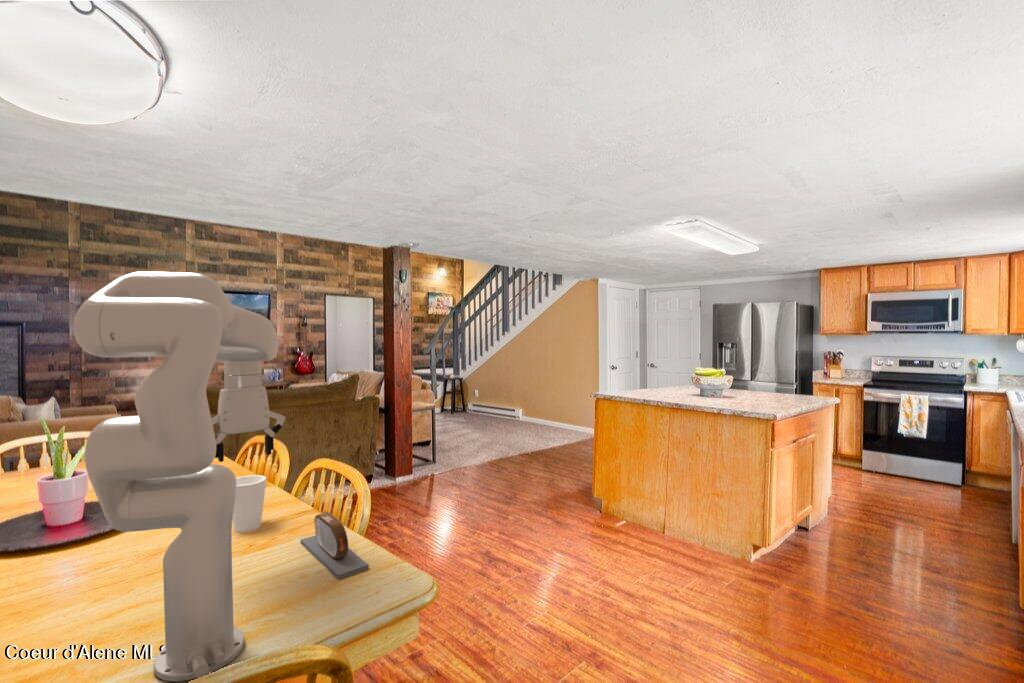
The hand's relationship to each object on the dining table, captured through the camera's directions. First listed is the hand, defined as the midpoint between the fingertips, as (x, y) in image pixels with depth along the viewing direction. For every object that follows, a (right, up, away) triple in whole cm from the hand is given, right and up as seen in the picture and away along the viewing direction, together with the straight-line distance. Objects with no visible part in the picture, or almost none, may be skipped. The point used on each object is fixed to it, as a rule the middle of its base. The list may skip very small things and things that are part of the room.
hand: (245, 457), depth 112 cm
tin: (+18, -24, +4) cm, 30 cm away
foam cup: (-11, -25, +21) cm, 35 cm away
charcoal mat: (+18, -25, +5) cm, 31 cm away
